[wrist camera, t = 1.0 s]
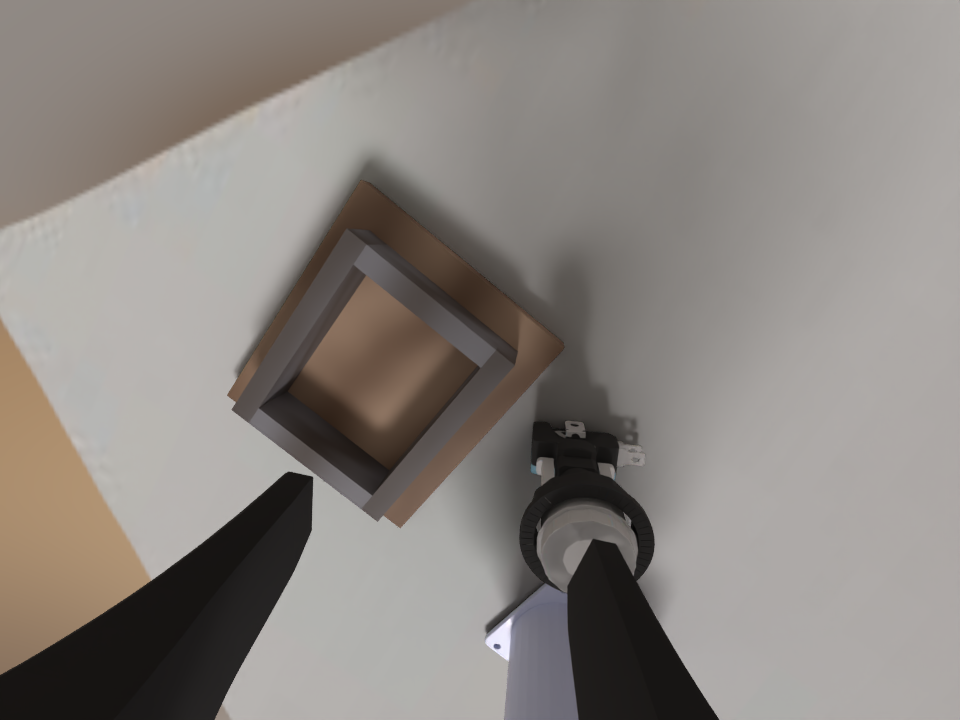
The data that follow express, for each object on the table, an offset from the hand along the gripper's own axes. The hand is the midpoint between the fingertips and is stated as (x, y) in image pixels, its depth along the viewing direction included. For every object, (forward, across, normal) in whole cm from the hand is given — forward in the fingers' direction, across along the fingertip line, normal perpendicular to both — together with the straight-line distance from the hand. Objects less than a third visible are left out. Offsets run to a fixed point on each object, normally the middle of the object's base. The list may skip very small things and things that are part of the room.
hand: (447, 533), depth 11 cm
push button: (+13, -8, +6) cm, 17 cm away
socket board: (+15, +5, +5) cm, 16 cm away
